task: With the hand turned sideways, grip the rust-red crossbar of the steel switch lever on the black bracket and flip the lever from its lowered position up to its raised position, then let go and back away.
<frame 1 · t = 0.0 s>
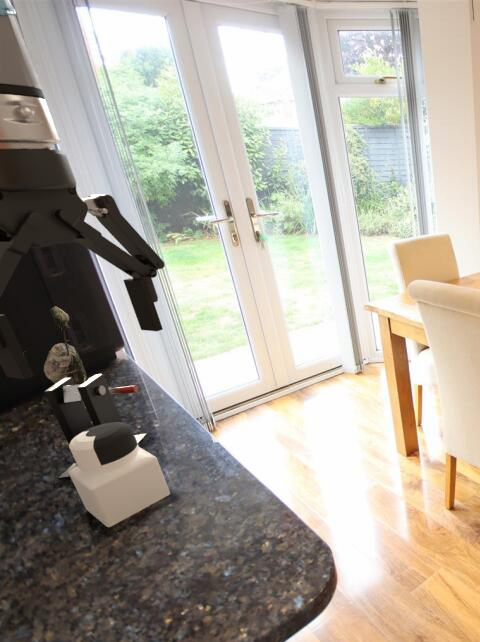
hand: (94, 350, 52), 23 cm above the kitchen counter, tool pointing down, fingers open, 13 cm apart
lever: (98, 392, 71), point 10 cm above the kitchen counter, hinge at -25.0°
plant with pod: (81, 406, 89), on the kitchen counter
bracket: (108, 460, 72), on the kitchen counter
medicine bottle: (132, 508, 62), on the kitchen counter
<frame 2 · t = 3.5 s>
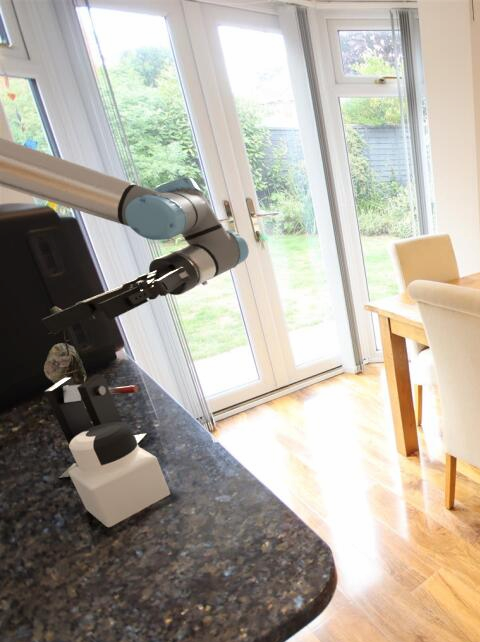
hand: (75, 319, 72), 21 cm above the kitchen counter, tool horizontal, fingers open, 13 cm apart
nothing on the kitchen counter moved.
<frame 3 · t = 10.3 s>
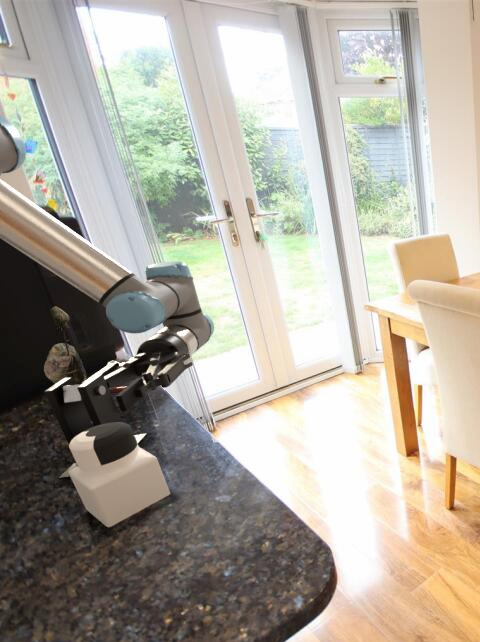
hand: (100, 406, 71), 8 cm above the kitchen counter, tool horizontal, fingers closed on lever, 5 cm apart
lever: (98, 392, 71), point 10 cm above the kitchen counter, hinge at -25.0°, touching gripper
everything else where it was.
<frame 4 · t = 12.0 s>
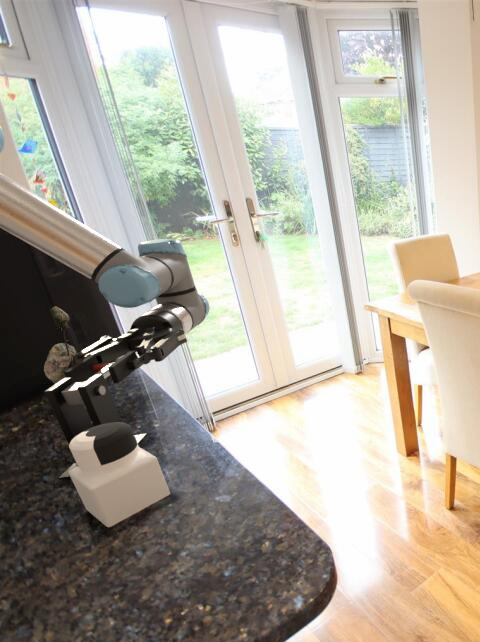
hand: (92, 377, 70), 13 cm above the kitchen counter, tool horizontal, fingers closed on lever, 5 cm apart
lever: (95, 380, 71), point 12 cm above the kitchen counter, hinge at 2.0°, touching gripper
everything else where it was.
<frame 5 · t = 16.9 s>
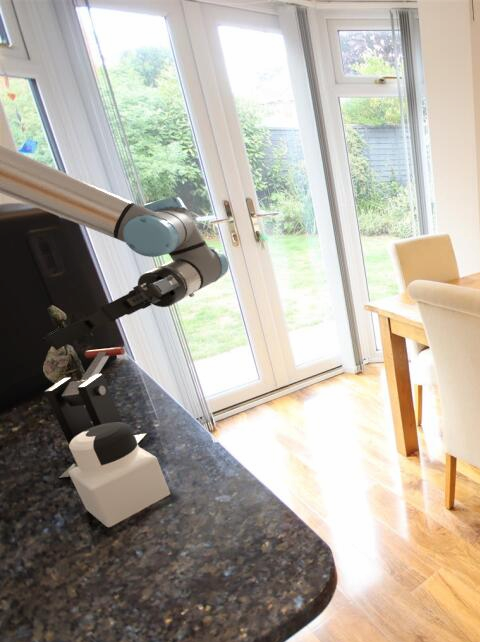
hand: (78, 328, 77), 18 cm above the kitchen counter, tool horizontal, fingers open, 13 cm apart
lever: (91, 373, 70), point 13 cm above the kitchen counter, hinge at 19.2°
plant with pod: (81, 405, 89), on the kitchen counter, touching gripper
everything else where it was.
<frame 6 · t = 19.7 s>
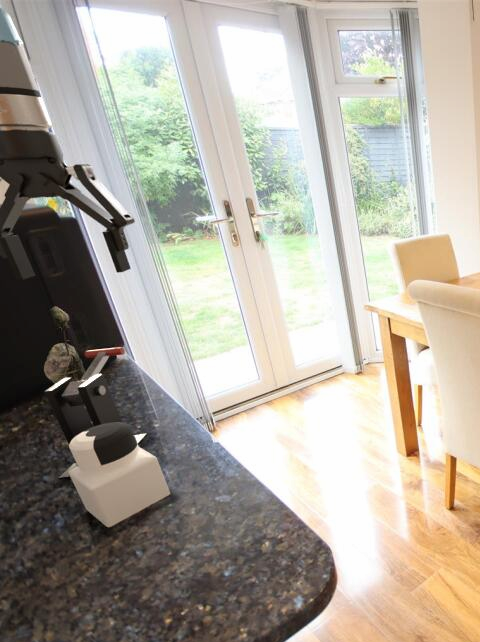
hand: (76, 274, 74), 27 cm above the kitchen counter, tool pointing down, fingers open, 13 cm apart
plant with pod: (81, 406, 89), on the kitchen counter
everything else where it was.
at the end: lever at +19° (first picture: -25°); the gripper is holding nothing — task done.
